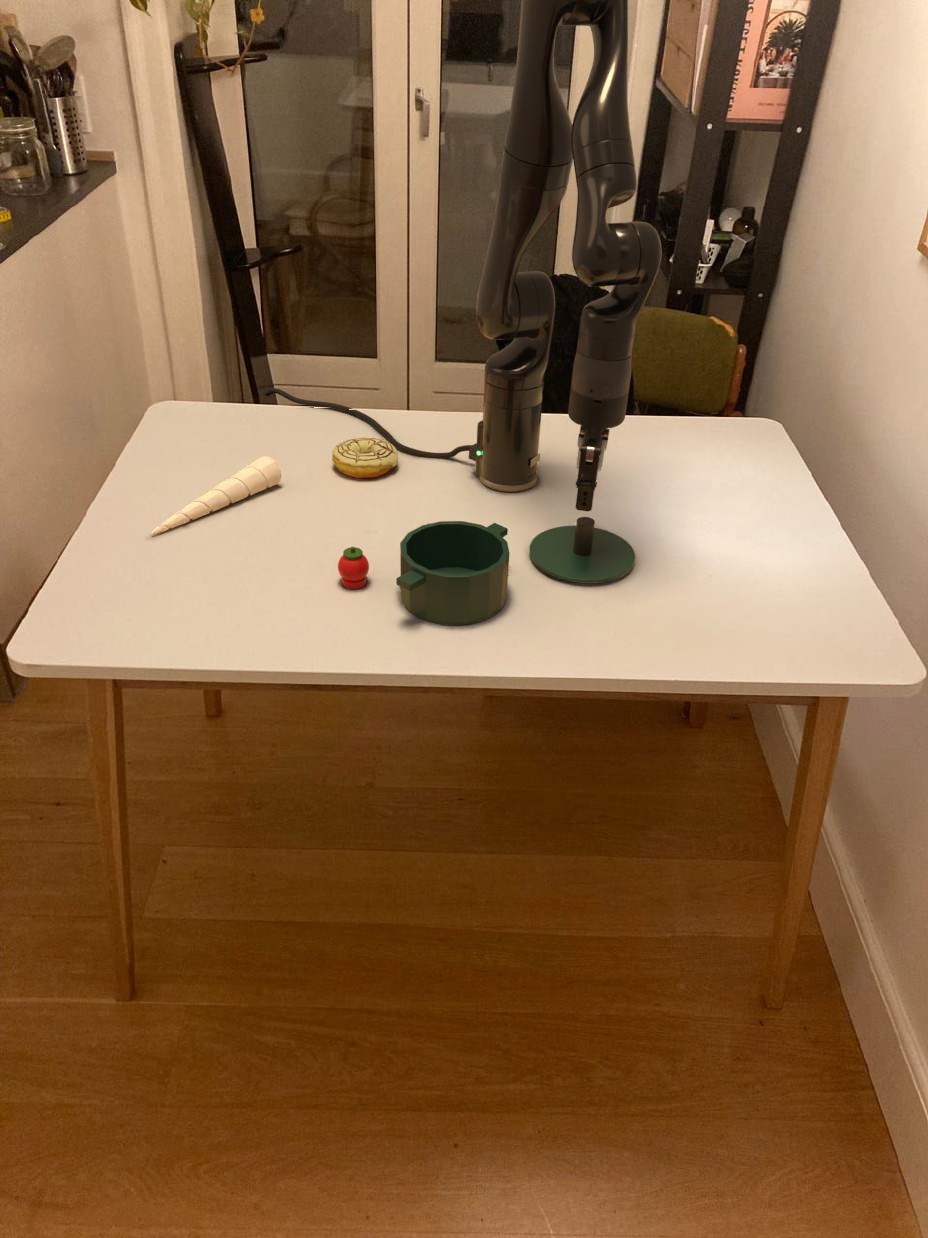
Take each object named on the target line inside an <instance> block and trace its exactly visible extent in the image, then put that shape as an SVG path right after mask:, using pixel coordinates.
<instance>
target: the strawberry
mask: <svg viewBox="0 0 928 1238" xmlns="http://www.w3.org/2000/svg"><path fill="white" fill-rule="evenodd" d="M369 570H370V563H369V560H368V558H367V557H366V555H365V554H364V553H363V550H362V549H361V548H360V547H356V546H351V547H350V546H349V547H347V548H345V549H344V550H343V551H342V555H341V557H340V558H339V560H338V562H337V571H338V574H339V575H340V576H341V579H342V580H341V581H342V585H343V587H345V588H346V589H351V590H356V589H361V588H363V587H365V585H366V584H367V575H368V573H369Z"/></svg>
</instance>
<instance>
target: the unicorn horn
mask: <svg viewBox="0 0 928 1238" xmlns="http://www.w3.org/2000/svg"><path fill="white" fill-rule="evenodd" d="M281 481H282V471H281V469H280V466H279V464H278V463H277V461H275V459H274V458H272V457H270V456H267V455H263V456H261V457H259V458H257V459H256V460H254V461H253V462H251V463H250V464H248V465H247V466H245V467H244V468H242V469H241V470H239V471H237V472H236V473H234V474H232V475H231V476H229V477H228V478H227V479H225V480H224V481H222V482H221V483H218V484H217V485H216V486H214V487H213V488H211V489H210V490H207V492H205V493H204V494H202V495H201V496H199V497H198V498H196V499H194V500H193V501H192V502H190V503H189V504H187V505H186V506H184V507H183V508H181V509H180V510H179V511H177V512H175V514H173V515H171V516H170V517H169V518H167V519H165V520H164V521H163V522H162V523H160V524H159V525H157V526H156V527H155V528H154V529H153V530H152V531H151V532H150V535H156V534H159V533H162V532H166V531H168V530H170V528H171V529H174V528H176V527H179V526H181V525H183V524H186V523H189V522H190V521H191V520H196V519H199V518H201V517H204V516H206V515H208V514H210V513H211V512H215V511H219V510H220V509H223V508H225V507H228V506H229V505H230V504H231V505H233V504H234V503H236V502H240V501H241V500H244V499H246V498H248V497H250V496H254V495H255V494H258V493H260V492H262V491H265V490H266V489H270V488H271V487H274V486H276V485H278V484H280V483H281Z"/></svg>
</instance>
